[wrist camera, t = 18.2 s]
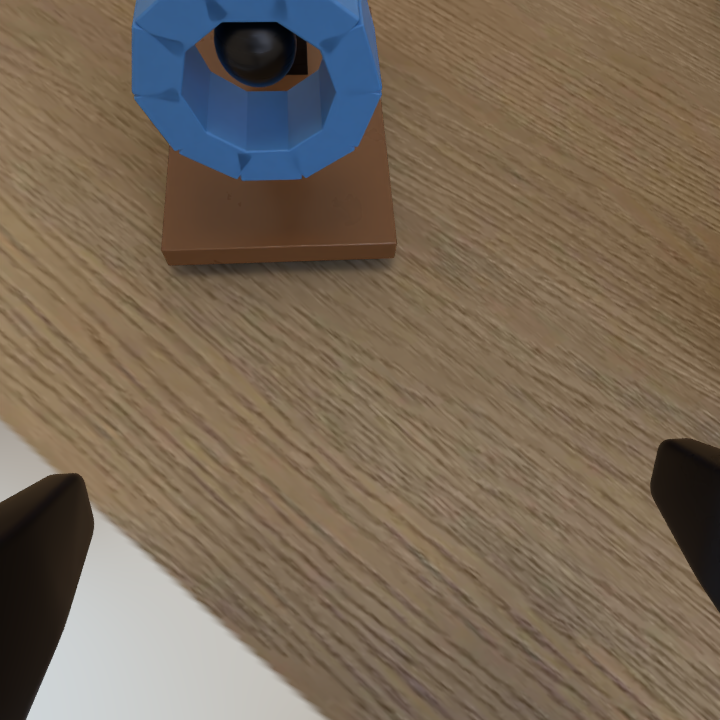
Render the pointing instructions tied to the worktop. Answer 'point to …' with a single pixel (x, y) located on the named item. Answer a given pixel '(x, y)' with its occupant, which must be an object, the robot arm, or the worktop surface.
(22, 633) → the robot arm
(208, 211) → the hook stand
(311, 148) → the tape roll
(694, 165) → the worktop surface
